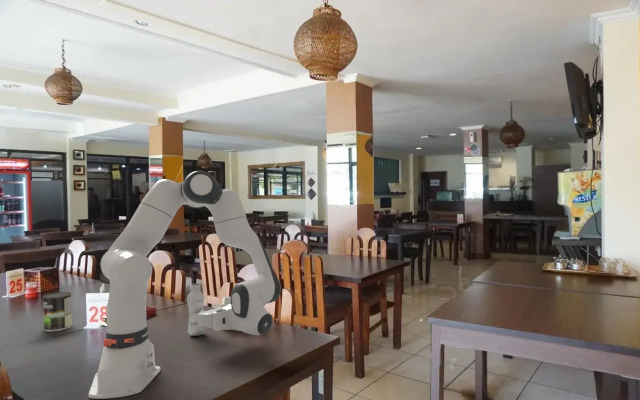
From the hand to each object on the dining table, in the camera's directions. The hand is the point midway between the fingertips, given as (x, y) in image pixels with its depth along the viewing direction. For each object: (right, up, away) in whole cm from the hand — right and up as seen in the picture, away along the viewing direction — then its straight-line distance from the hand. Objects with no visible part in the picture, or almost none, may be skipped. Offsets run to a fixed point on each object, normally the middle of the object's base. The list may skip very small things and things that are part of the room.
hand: (212, 309), depth 154 cm
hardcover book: (-45, -13, +30) cm, 56 cm away
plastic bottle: (-8, -12, +8) cm, 16 cm away
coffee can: (-71, -13, +21) cm, 75 cm away
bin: (+6, -12, +21) cm, 25 cm away
